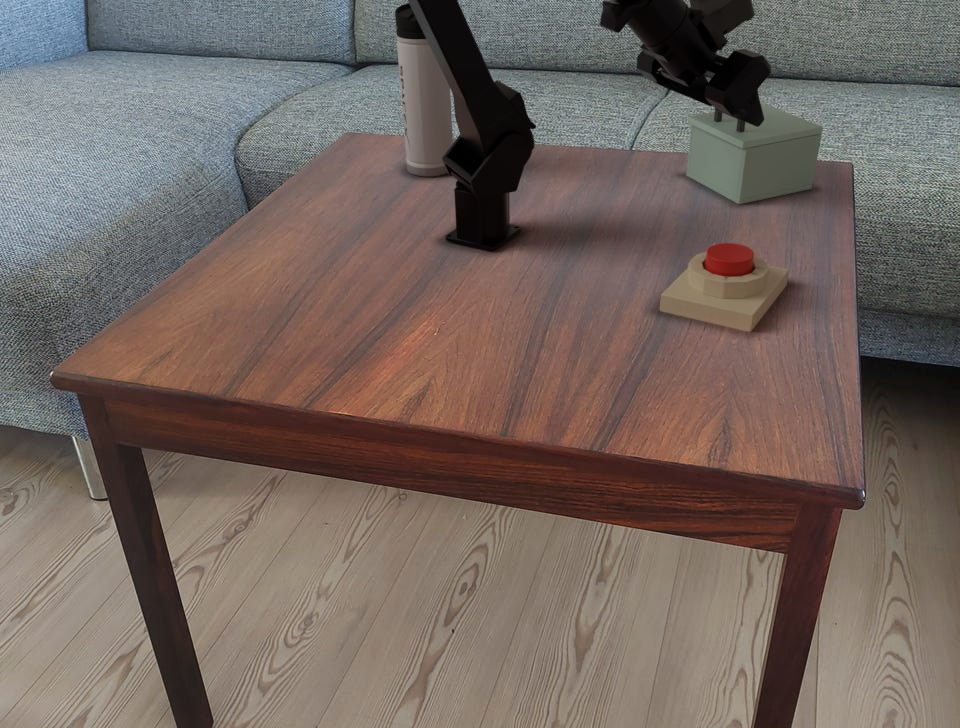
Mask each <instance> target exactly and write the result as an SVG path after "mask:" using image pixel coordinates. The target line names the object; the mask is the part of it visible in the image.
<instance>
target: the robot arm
mask: <svg viewBox="0 0 960 728" xmlns="http://www.w3.org/2000/svg"><path fill="white" fill-rule="evenodd" d="M407 3H409V4H410V6H411V8H412V10H413V12H414V14H415V16H416V18H417V21H418V23H419V25H420V27H421V29H422V31H423V33H424V35H425V37H426V39H427V41H428V43H429V45H430V47H431V49H432V51H433V54H434V56H435V58H436V60H437V62H438V64H439V66H440V68H441V70H442V72H443V74H444V76H445V78H446V80H447V82H448V84H449V86H450V92H451V93H452V98H453V107H454V108H453V109H454V118H455V122H456V125H457V129H458V132H459V135H458V137H457V138H456V139H455V140H454V141H453V144H452V146H451V147H450V148H449V149H448V151H447V152H446V153H445V155H444V156H443V158H442V161H443V163H444V165H445V168H446V170H447V172H448V173H447V174H448V175H449V176H450V177H453V179H455V180H456V182H455V188H454V189H453V192H454V193H453V194H454V209H455V210H454V211H455V213H454V215H455V229H453V230H451V231H450V232H448V233H447V234H446V235H445V236H444V237H445V241H446V242H450V243H454V244H459V245H464V246H469V247H474V248H476V249H477V248H478V249H481V250H486V251H495V250H497V249H498V248H500V247H501V246H503V245H504V244H505V243H507V242H508V241H510V240H511V239H512V238H514V237H516V236H517V235H518V234H519V233H521V232H522V226H520V225H516V224H511V223H510V222H511V221H510V219H511V215H510V213H511V212H510V194H511V193H514V192H517V191H518V188H519V185H520V181H521V178H522V175H523V172H524V169H525V166H526V165H527V163H528V162H529V160H530V159H531V156H532V153H533V151H534V149H535V138H534V134H533V132H532V130H535V129H536V128H537V125H536V124H535V123H534V122H533V121H532V120H531V119H530V116H529V115H528V111H527V109H526V104H525V101H524V97H523V95H522V93H521V92H520V91H518V90H516V89H514V88H512V87H511V86H509V85H507V84H505V83H504V82H502V81H500V80H498V79H496V80H495V81H494V79H493V77H492V74H491V72H490V70H489V68H488V65H487V64H486V61H485V58H484V57H483V54H482V52H481V50H480V48H479V45H478V43H477V41H476V39H475V37H474V35H473V32H472V29H471V28H470V26H469V23H468V21H467V19H466V16H465V14H464V11H463V10H462V7H461V5H460V3H459V1H458V0H407ZM689 5H690V7H689ZM689 5H688V4H687V3H686V1H684V0H603V1H602V4H601V6H602V12H601V15H600V19H599V20H600V21H599V26H600V27H601V28H603V29H606V30H609V31H611V32H614V33H617V34H620V33H621V32H622V30H623V29H624V28H625V27H626V25H627V26H628V27H629V29H630V30H631V31H632V32H633V33H634V35H635V36H636V37H637V38H638V40H639V41H640V42H641V43H642V44H641V45H640V46H639V48H640V49H641V51H640V53H639V54H638V55H637V56H636V69H637V70H638V71H639V73H640V74H641V75H642V76H643V78H645V79H646V80H649V81H651V82H653V83H654V84H656V85H658V86H661V87H662V88H665V89H667V90H670V91H672V92H674V93H677V94H679V95H681V96H685V97H686V98H689V99H691V100H694V101H696V102H699V103H702V104H704V105H705V106H708V107H714V111H715V110H717V111H720V112H722V113H724V114H726V115H729V116H731V117H734V118H736V119H739V120H741V121H744V122H746V123H749V124H751V125H754V126H756V127H759V126H760V125H761V124H762V122H763V121H764V115H763V111H762V107H761V104H762V103H761V100H760V95H759V88H760V87H761V86H762V85H763V83H764V82H765V81H766V79H767V78H768V77H769V76H770V75H771V74H772V65H771V64H770V62H769V61H768V60H767V59H766V57H765V56H764V55H763V54H760V53H757V52H755V51H751V50H748V49H746V48H740V49H734V50H733V51H732V52H731V53H730V55H729V56H727V57H726V56H722V55H720V54H717V52H718V51H719V52H720V51H722V50H723V49H724V47H726V45H727V44H728V43H729V40H728V39H727V37H726V35H728V34H729V33H731V32H732V31H733V30H735V29H737V27H740V26H741V25H742V24H744V23H746V22H749V21H751V20H752V19H753V18H755V15H756V14H755V13H756V12H755V9H754V6H753V5H754V4H753V1H752V0H689ZM707 78H710V79H709V80H708V79H707Z"/></svg>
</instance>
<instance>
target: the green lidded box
mask: <svg viewBox="0 0 960 728" xmlns="http://www.w3.org/2000/svg"><path fill="white" fill-rule="evenodd" d="M689 133H690V134H689V145H688V153H687V163H686V174H685V176H687V177H688V178H689V179H692V180H694V181H695V182H697V183H699V184H701V185H703V186H704V187H707V188H708V189H710V190H712V191H714V192H716V193H717V194H719V195H721V196H723V197H725V198H726V199H728V200H730V201H732V202H733V203H736V204H737V205H742V204H743V205H744V204H747V203H752V202H753V203H754V202H758V201H762V200H767V199H772V198H775V197H781V196H786V195H790V194H795V193H799V192H804V191H809V190H812V189H813V184H814V179H815V172H816V168H817V163H818V157H819V153H820V146H821V141H822V135H823V134H822V133H821V134H817V135H811V136H806V137H801V138H796V139H791V140H786V141H780V142H775V143H770V144H765V145H760V146H755V147H749V148H744V149H742V148H740V147H737V146H735V145H733V144H731V143H729V142H727V141H725V140H723V139H721V138H718V137H716V136H714V135H712V134H710V133H708V132H706V131H704V130H702V129H699V128H697V127H695V126H693V125H691V124H690V132H689Z"/></svg>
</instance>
